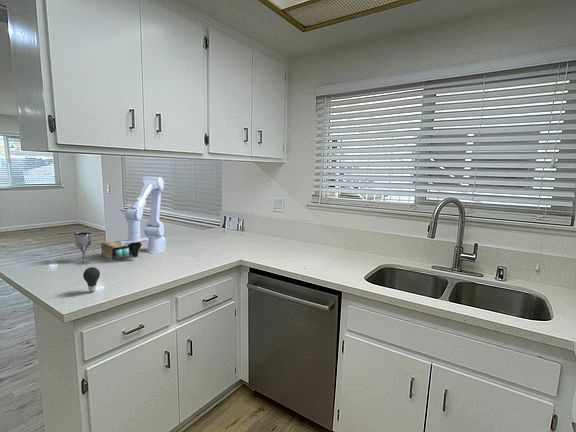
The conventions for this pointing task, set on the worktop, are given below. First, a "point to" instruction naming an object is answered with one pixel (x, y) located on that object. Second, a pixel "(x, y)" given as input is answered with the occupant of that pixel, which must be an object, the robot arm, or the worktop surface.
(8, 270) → the worktop surface
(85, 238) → the wine glass
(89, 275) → the light bulb
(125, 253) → the teal rounded cylinder
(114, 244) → the shelf
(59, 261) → the worktop surface
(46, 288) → the worktop surface
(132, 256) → the tray
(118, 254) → the teal rounded capsule
